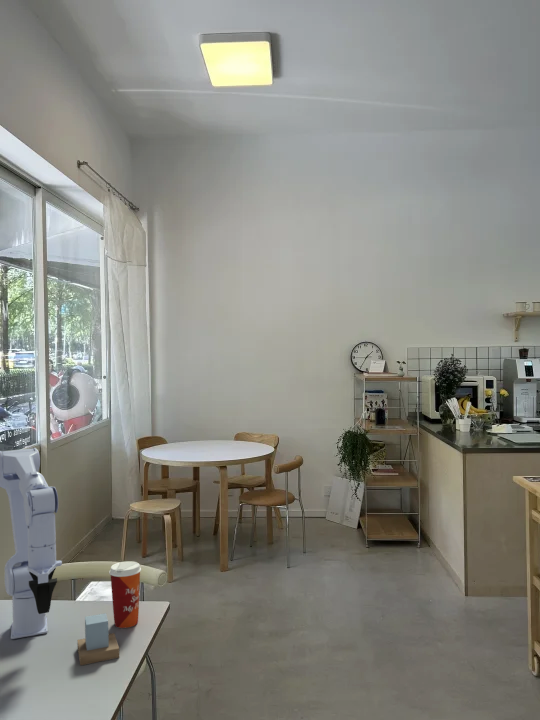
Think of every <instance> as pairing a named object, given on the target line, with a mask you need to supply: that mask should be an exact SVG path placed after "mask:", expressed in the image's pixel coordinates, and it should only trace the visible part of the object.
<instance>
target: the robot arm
mask: <svg viewBox="0 0 540 720" xmlns="http://www.w3.org/2000/svg"><path fill="white" fill-rule="evenodd" d="M40 465H41V455H40V452H39V450H38V449H37V448H36V447H32V448H23V449H11V450H0V488H2V489H4V490H5V492H6V494H7V497H8V503H9V511H10V519H11V520H10V521H11V526H12V527H11V528H12V529H11V530H12V536H13V543H14V551H15V552H14V554H12V556H11V557H10V558H9V559H7V561H6V563H5V566H4V587H5V591H6V592H5V593H6V594H7V595H8V596H11V597H12V600H11V601H12V622H11V629H10V639H11V640H15V639H20V638H26V637H33V636H38V635H43V634H47V633H48V618H47V617H48V616H46V614H48V613H49V612H50V609H51V604H52V597H53V592H54V590H55V587H56V585H57V582H58V577H56V578H53V576H54V574H55V570H56V568H57V567H61V566H63V560H57V541H56V540H57V539H56V537H57V533H56V514H57V513H58V510H59V495H58V491H57V489H56V486H52V485H51V486H49V484H48V483H47V481H46V479H45V476H44V475H43V474H42V473H40V472H39V471H40V467H41V466H40Z"/></svg>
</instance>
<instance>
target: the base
mask: <svg viewBox="0 0 540 720" xmlns="http://www.w3.org/2000/svg"><path fill="white" fill-rule="evenodd" d="M108 639H109V647H104V648H99V649H93V650H88V651H87V648H86V642H85V638H80V639H77V653H78V659H79V666H84V665H89V664H90V665H91V664H94V663H95V664H96V663H99V662H104V661H109V660H113V659H114V660H115V659H118V658H119V659H120V646H119V644H118V641H117V638H116V633H115V632H111V633H108Z"/></svg>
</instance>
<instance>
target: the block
mask: <svg viewBox="0 0 540 720" xmlns="http://www.w3.org/2000/svg"><path fill="white" fill-rule="evenodd" d="M84 631H85V632H84V639H85V642H86V648H87V651H88V650H93V649H99V648H104V647H109V639H108V634H109V620H108V616H107V613H106V612H105V613H99V614H93V615H88V616H84Z"/></svg>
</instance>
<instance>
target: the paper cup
mask: <svg viewBox="0 0 540 720" xmlns="http://www.w3.org/2000/svg"><path fill="white" fill-rule="evenodd" d="M141 571H142V568H141V566H140V563H138V562H137V561H134V560H133V561H131V560H130V561H127V560H126V561H119V562H116V563H114V564H112V565H111V566H110V570H109V571H108V573H109V575H110V587H111V588H110V589H111V597H112V599H111V600H112V609H113V610H112V612H113V622H114V626H115V628H118V629H128V628H132V627H134V626H136V625H138V623H139V608H140V579H141Z"/></svg>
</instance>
